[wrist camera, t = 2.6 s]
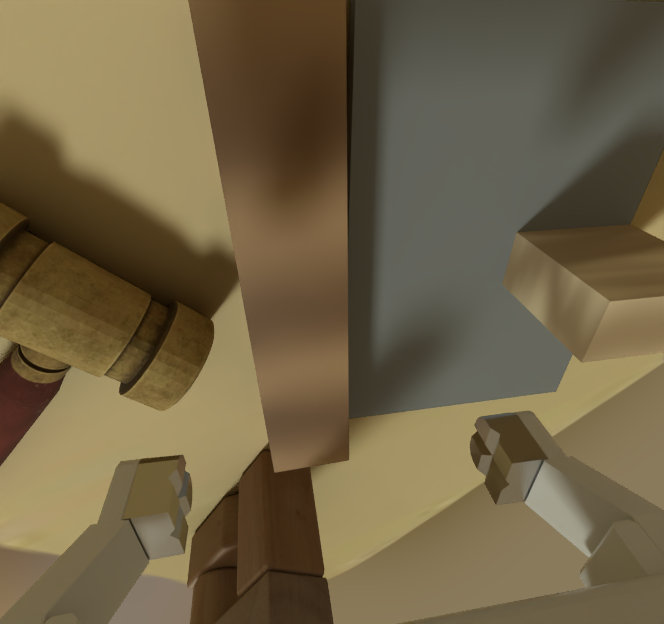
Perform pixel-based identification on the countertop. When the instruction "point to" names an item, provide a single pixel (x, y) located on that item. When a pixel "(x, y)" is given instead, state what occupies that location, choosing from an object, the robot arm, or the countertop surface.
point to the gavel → (84, 331)
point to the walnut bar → (286, 205)
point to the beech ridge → (593, 288)
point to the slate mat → (482, 179)
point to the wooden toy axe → (261, 554)
